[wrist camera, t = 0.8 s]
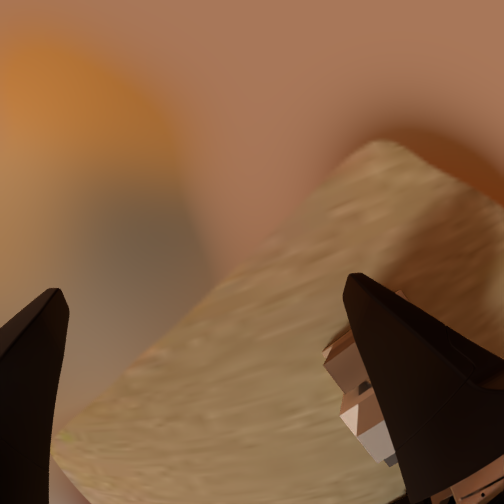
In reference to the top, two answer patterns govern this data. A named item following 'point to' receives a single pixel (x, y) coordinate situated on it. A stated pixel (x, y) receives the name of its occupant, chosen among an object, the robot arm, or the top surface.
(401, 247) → the top surface
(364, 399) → the beige boxy piece
